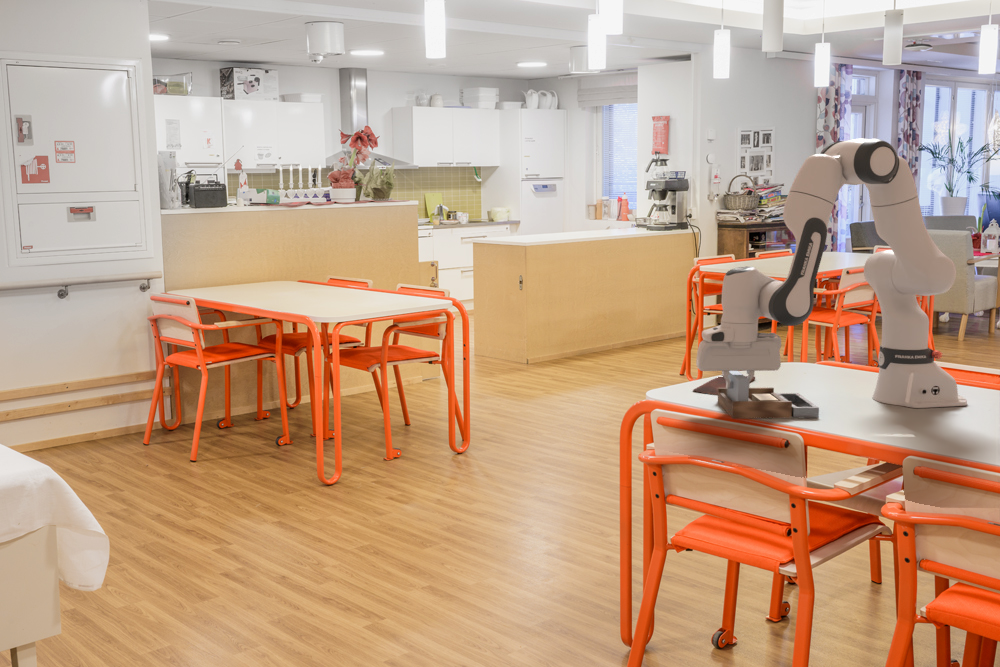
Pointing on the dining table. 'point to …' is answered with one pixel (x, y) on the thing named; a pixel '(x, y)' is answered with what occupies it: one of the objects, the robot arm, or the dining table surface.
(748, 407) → the divided tray
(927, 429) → the dining table surface
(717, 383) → the wooden tablet
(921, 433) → the dining table surface
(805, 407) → the stand
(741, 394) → the gray rectangular panel
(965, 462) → the dining table surface
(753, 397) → the offcut short
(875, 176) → the robot arm
